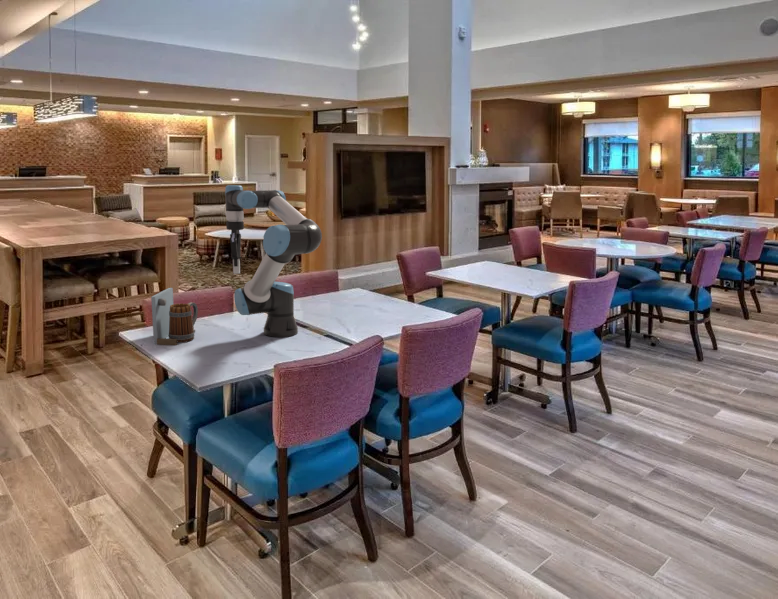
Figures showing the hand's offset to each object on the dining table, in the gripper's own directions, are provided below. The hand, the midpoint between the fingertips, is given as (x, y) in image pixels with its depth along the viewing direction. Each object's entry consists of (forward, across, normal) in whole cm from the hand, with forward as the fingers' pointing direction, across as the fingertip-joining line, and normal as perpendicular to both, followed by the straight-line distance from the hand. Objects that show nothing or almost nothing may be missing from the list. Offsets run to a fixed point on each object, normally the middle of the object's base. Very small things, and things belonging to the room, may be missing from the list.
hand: (236, 273), depth 282 cm
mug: (+26, +15, -20) cm, 36 cm away
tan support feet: (+26, +15, -24) cm, 38 cm away
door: (+26, +15, -28) cm, 41 cm away
